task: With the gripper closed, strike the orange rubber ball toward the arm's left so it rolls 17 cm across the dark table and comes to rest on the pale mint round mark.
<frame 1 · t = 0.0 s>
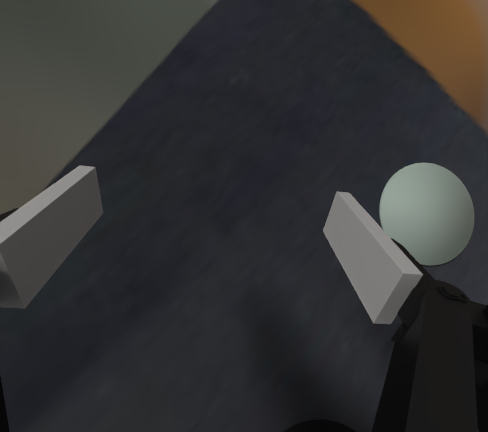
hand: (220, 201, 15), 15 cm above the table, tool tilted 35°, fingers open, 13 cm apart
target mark: (427, 213, 33), on the table
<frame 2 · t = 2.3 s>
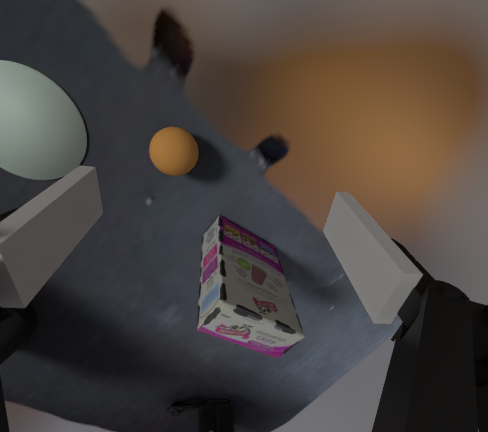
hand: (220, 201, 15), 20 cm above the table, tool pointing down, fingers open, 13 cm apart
candy bar box: (239, 241, 41), on the table
milk frother: (202, 403, 65), on the table
ball: (174, 151, 30), on the table
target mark: (25, 126, 30), on the table
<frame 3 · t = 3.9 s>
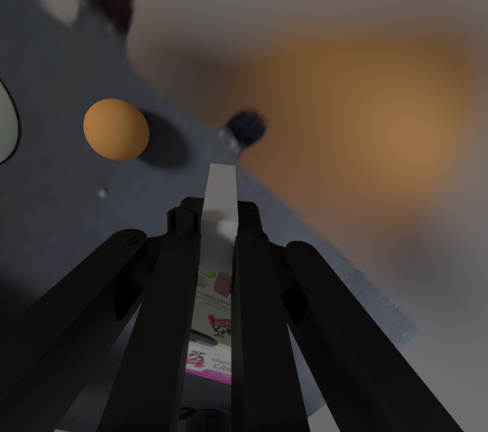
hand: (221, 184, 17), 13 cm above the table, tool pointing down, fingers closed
candy bar box: (215, 240, 35), on the table
milk frother: (190, 414, 60), on the table
ball: (118, 130, 24), on the table
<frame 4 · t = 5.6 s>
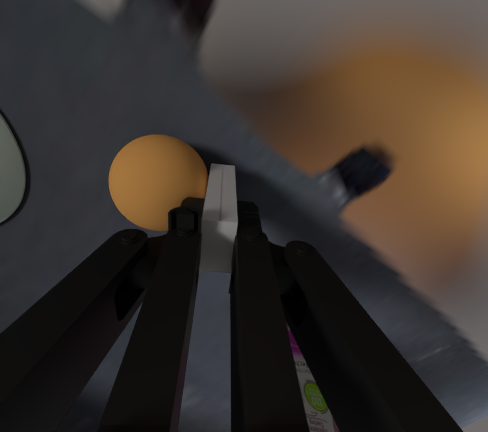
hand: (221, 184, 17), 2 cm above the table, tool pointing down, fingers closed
candy bar box: (288, 309, 26), on the table
ball: (161, 183, 15), on the table
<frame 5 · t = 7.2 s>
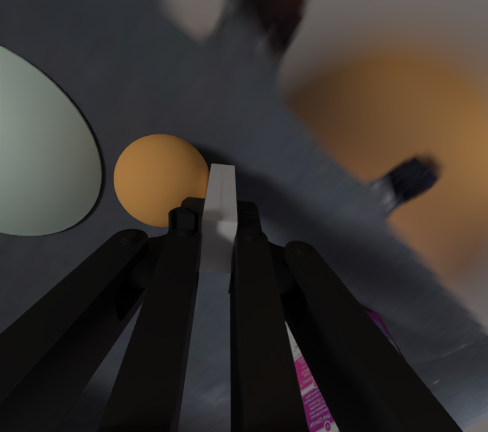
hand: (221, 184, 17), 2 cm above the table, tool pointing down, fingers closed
candy bar box: (327, 308, 27), on the table
ball: (164, 181, 16), on the table, touching gripper
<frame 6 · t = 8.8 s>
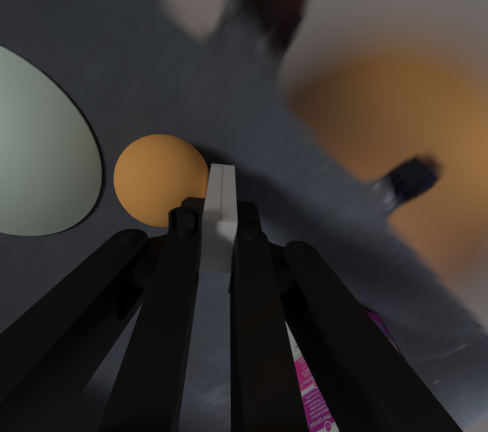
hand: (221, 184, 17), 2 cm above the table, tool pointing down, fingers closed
candy bar box: (327, 308, 27), on the table
ball: (164, 181, 16), on the table, touching gripper
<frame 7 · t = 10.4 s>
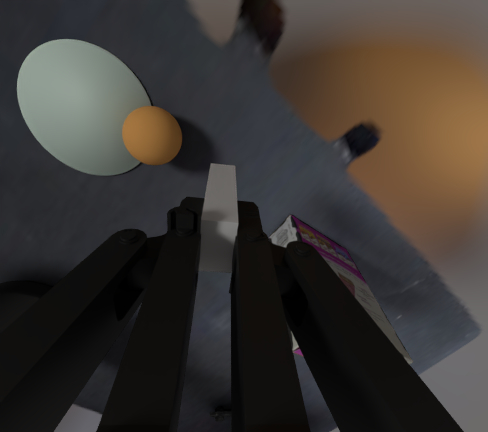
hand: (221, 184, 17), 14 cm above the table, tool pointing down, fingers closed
candy bar box: (307, 243, 37), on the table
milk frother: (245, 408, 62), on the table
ball: (153, 136, 25), on the table
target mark: (89, 115, 27), on the table
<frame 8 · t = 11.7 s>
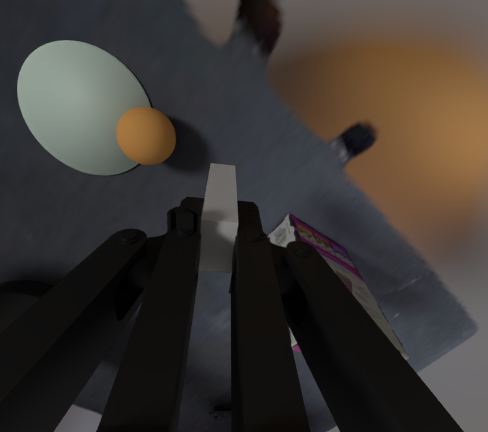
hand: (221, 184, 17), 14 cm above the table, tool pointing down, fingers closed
candy bar box: (305, 242, 37), on the table
milk frother: (244, 408, 62), on the table
ball: (147, 136, 26), on the table
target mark: (89, 116, 27), on the table
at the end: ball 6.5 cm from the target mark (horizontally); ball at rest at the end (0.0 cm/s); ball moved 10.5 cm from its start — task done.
